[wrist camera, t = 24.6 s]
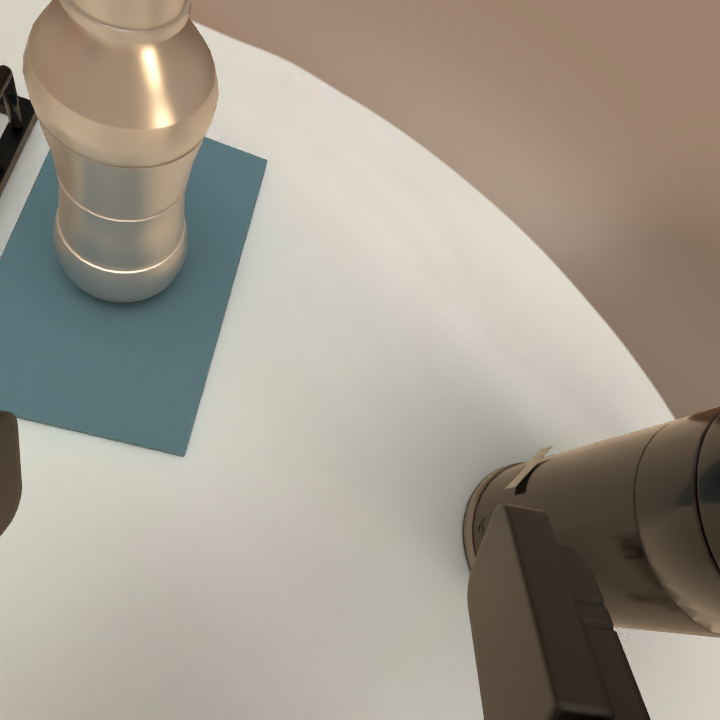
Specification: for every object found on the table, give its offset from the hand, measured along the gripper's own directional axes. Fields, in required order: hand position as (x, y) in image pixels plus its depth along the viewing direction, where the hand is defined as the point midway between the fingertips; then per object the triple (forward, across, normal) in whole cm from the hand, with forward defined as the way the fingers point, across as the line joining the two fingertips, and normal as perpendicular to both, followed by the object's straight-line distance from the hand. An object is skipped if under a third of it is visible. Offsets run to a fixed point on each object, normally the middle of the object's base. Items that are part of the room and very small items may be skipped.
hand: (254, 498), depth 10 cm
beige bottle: (+25, +12, +7) cm, 29 cm away
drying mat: (+26, +12, +7) cm, 29 cm away
